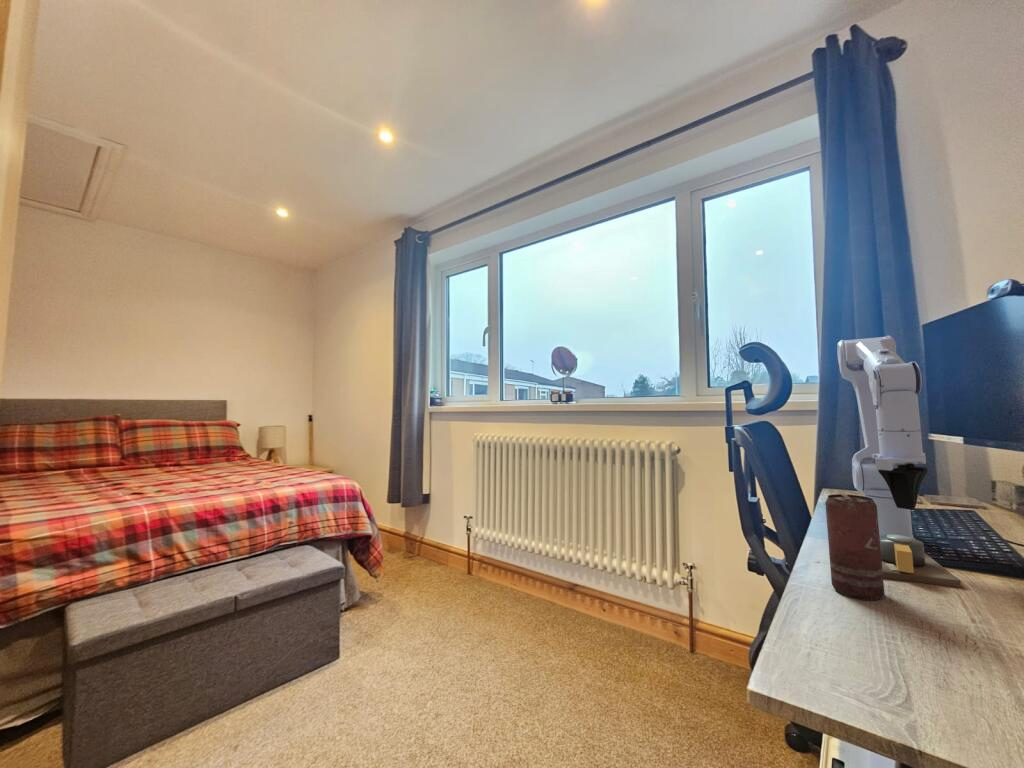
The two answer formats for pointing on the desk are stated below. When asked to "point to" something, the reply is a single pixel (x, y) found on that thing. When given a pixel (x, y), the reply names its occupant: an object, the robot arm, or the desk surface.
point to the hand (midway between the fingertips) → (905, 508)
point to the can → (854, 546)
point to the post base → (922, 573)
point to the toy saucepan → (902, 551)
